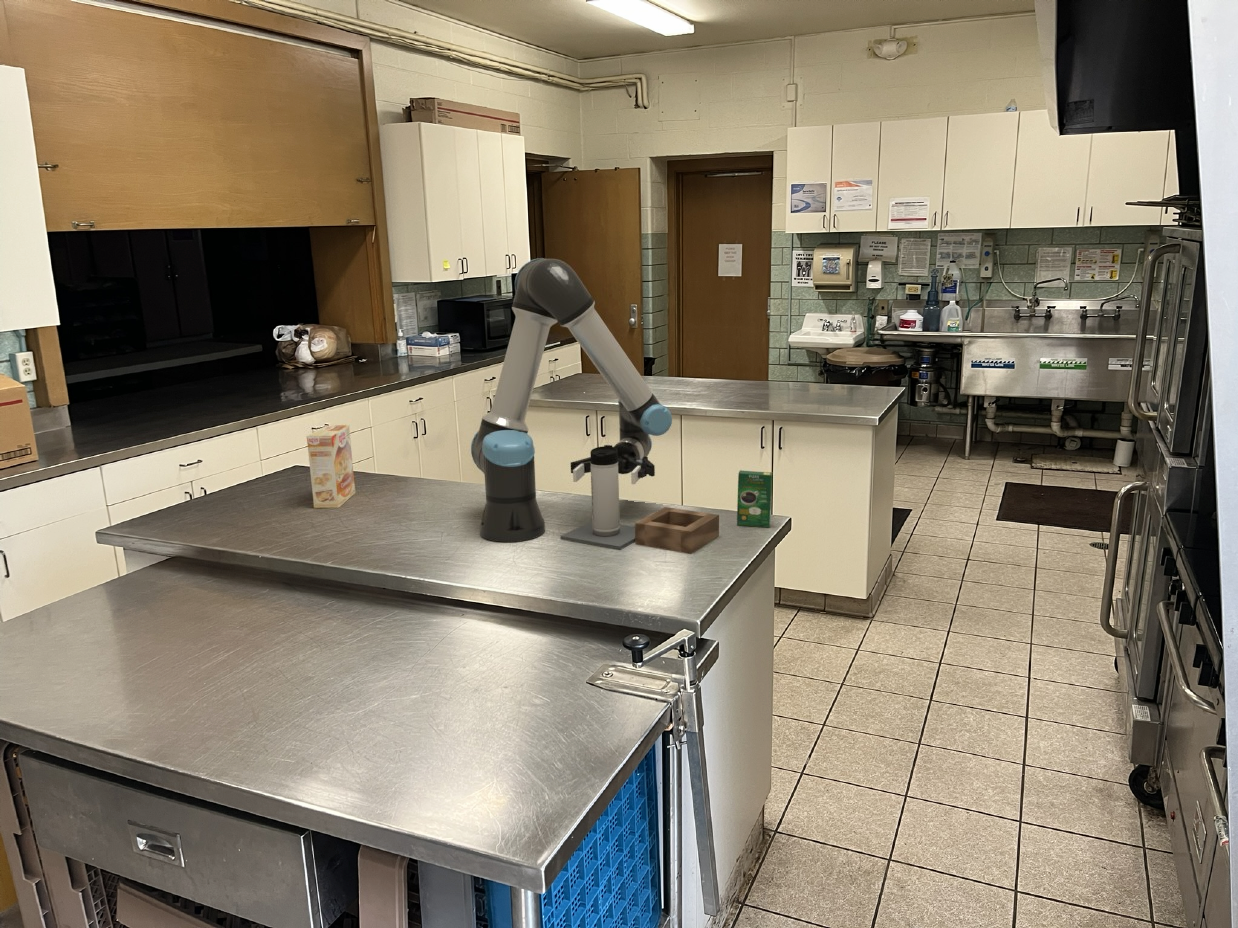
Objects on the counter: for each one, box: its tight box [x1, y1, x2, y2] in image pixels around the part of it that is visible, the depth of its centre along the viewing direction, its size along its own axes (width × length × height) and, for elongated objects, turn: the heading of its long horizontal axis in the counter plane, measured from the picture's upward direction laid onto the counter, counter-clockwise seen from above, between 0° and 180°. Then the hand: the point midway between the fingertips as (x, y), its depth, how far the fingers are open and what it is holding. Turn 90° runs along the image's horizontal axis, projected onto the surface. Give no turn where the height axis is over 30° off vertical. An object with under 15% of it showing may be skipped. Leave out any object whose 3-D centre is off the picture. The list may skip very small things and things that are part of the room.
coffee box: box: [736, 469, 773, 528], centre depth 207 cm, size 8×3×13 cm, turn 74°
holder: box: [634, 506, 720, 555], centre depth 199 cm, size 14×14×5 cm
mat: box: [559, 520, 635, 551], centre depth 204 cm, size 16×14×1 cm
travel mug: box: [590, 444, 621, 537], centre depth 201 cm, size 6×7×20 cm
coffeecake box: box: [306, 424, 356, 509], centre depth 237 cm, size 15×7×20 cm, turn 179°
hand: (603, 477), depth 199 cm, fingers open, 13 cm apart
